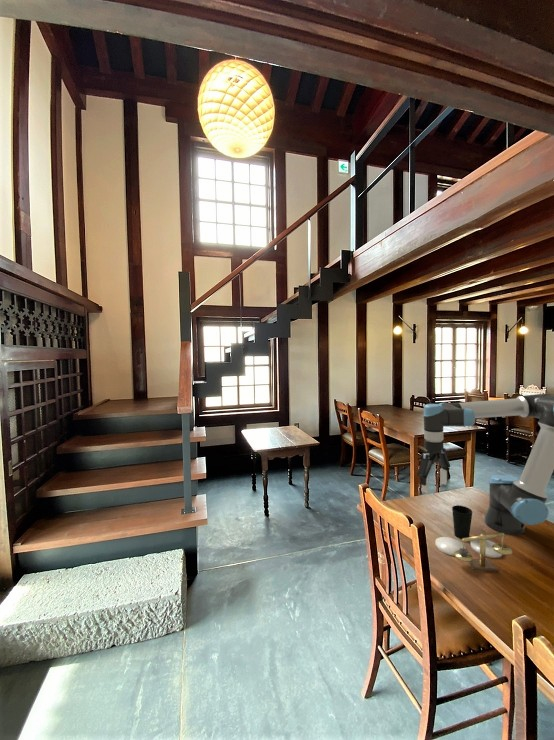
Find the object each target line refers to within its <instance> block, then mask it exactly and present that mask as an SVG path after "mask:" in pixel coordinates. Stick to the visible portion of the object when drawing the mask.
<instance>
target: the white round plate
mask: <svg viewBox="0 0 554 740" xmlns="http://www.w3.org/2000/svg"><path fill="white" fill-rule="evenodd" d="M493 544H497V543H496V542H493V541H491V540H488V539H486V553H485V558H490V559H499V558H501V557H503V554H500V553H498V552H496V551H495V550H494V549H493ZM470 548H471V549H472V550H473V552H474V553H477V554H478V555H480V540H474V541H470Z"/></svg>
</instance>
